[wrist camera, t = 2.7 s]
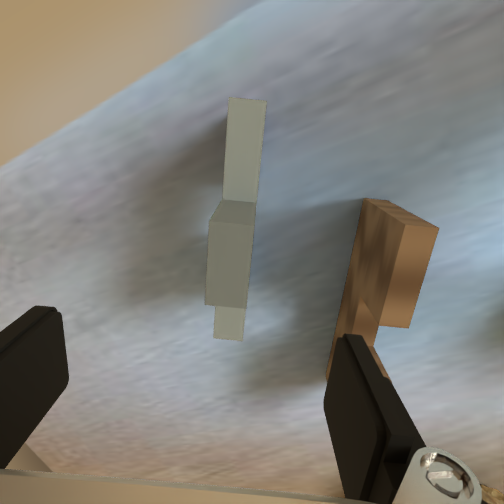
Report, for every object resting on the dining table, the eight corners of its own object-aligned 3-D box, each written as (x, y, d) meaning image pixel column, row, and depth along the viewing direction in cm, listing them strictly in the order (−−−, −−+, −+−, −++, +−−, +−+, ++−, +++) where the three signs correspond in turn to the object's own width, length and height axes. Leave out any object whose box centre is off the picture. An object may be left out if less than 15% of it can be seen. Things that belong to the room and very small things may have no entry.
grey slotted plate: (239, 108, 30) (216, 83, 15) (265, 111, 30) (268, 89, 15) (226, 284, 36) (200, 393, 21) (247, 287, 36) (237, 396, 21)
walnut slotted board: (363, 198, 32) (405, 224, 23) (387, 200, 32) (439, 228, 23) (325, 375, 40) (345, 450, 31) (344, 377, 40) (370, 452, 31)
